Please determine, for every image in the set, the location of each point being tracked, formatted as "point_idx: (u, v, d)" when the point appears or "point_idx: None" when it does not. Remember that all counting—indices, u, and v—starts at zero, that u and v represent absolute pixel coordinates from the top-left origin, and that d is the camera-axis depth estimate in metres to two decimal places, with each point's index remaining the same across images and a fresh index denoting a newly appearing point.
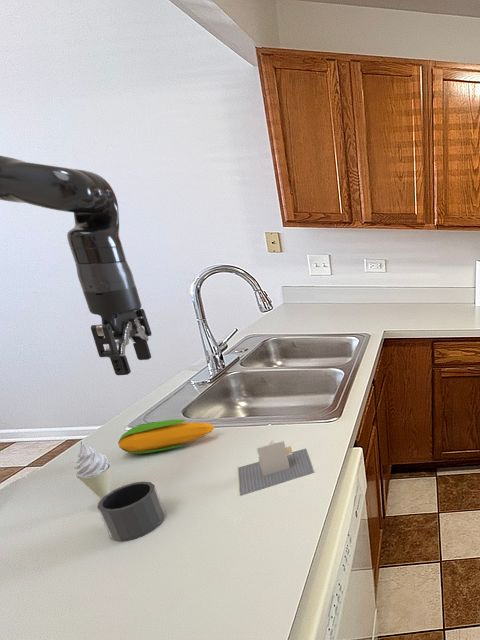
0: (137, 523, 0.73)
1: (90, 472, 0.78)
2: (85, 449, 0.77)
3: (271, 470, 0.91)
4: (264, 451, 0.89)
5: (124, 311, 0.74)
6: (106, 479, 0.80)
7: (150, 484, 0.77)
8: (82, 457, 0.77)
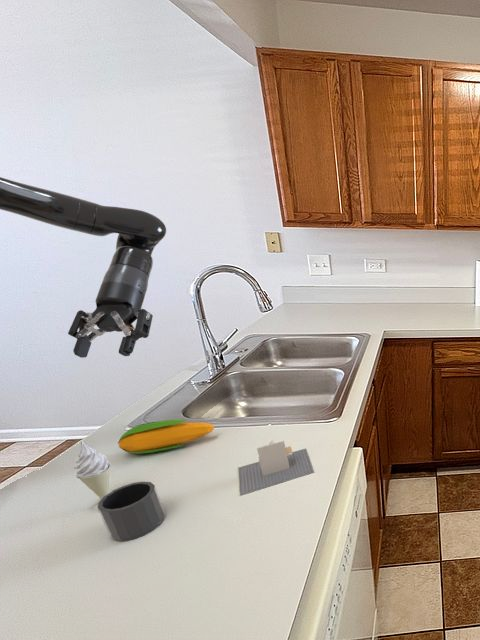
0: (137, 523, 0.73)
1: (90, 472, 0.78)
2: (85, 449, 0.77)
3: (271, 470, 0.91)
4: (264, 451, 0.89)
5: None
6: (106, 479, 0.80)
7: (150, 484, 0.77)
8: (82, 457, 0.77)
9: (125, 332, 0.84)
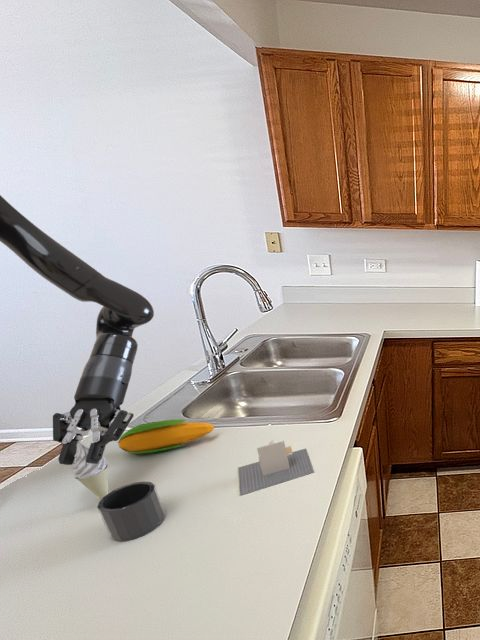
0: (137, 523, 0.73)
1: (88, 472, 0.78)
2: (82, 450, 0.77)
3: (271, 470, 0.91)
4: (264, 451, 0.89)
5: (122, 403, 0.84)
6: (104, 479, 0.80)
7: (150, 484, 0.77)
8: (79, 457, 0.77)
9: (94, 437, 0.78)
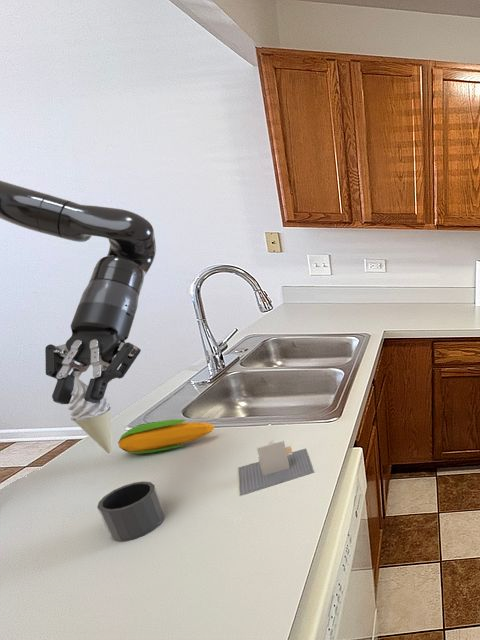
0: (137, 523, 0.73)
1: (87, 413, 0.66)
2: (80, 386, 0.65)
3: (271, 470, 0.91)
4: (264, 451, 0.89)
5: None
6: (106, 424, 0.68)
7: (150, 484, 0.77)
8: (77, 395, 0.65)
9: (95, 371, 0.66)
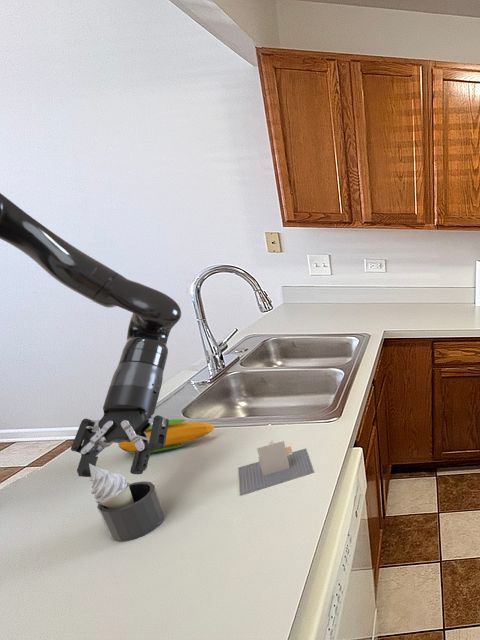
0: (137, 523, 0.73)
1: (108, 495, 0.71)
2: (96, 472, 0.70)
3: (271, 470, 0.91)
4: (264, 451, 0.89)
5: (153, 413, 0.78)
6: (129, 499, 0.74)
7: (150, 484, 0.77)
8: (95, 480, 0.70)
9: (138, 446, 0.72)
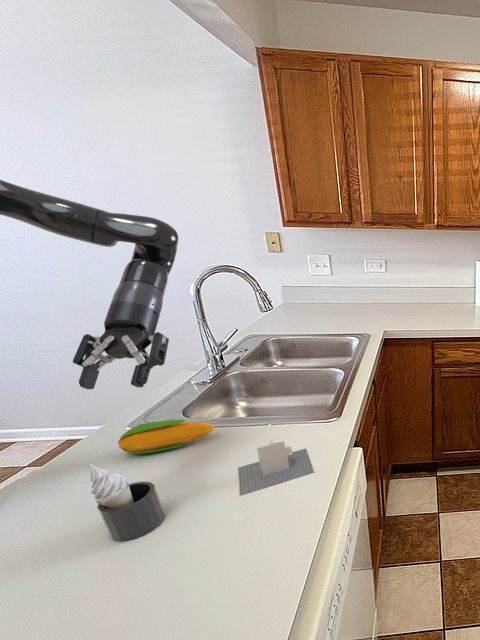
0: (137, 523, 0.73)
1: (108, 495, 0.71)
2: (96, 472, 0.70)
3: (271, 470, 0.91)
4: (264, 451, 0.89)
5: (153, 334, 0.79)
6: (129, 499, 0.74)
7: (150, 484, 0.77)
8: (95, 480, 0.70)
9: (138, 360, 0.73)
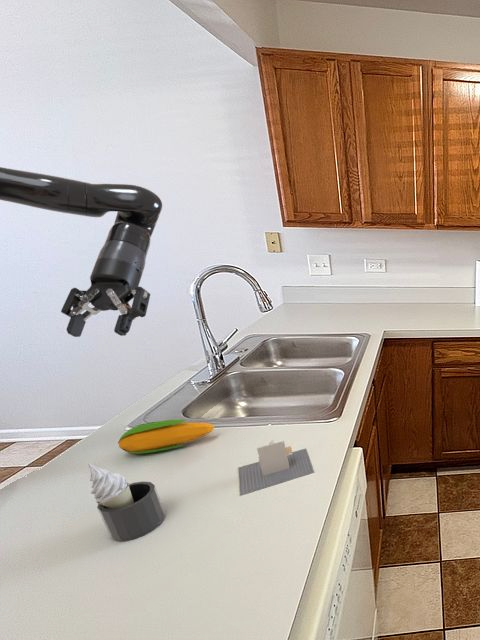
0: (137, 523, 0.73)
1: (108, 495, 0.71)
2: (96, 472, 0.70)
3: (271, 470, 0.91)
4: (264, 451, 0.89)
5: None
6: (129, 499, 0.74)
7: (150, 484, 0.77)
8: (95, 480, 0.70)
9: (121, 310, 0.80)
